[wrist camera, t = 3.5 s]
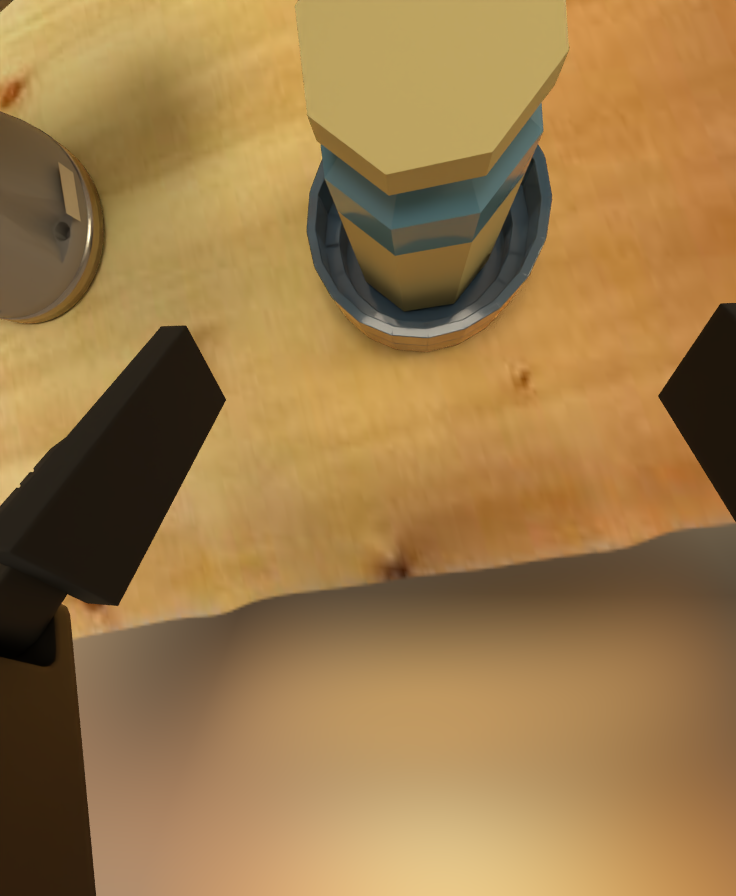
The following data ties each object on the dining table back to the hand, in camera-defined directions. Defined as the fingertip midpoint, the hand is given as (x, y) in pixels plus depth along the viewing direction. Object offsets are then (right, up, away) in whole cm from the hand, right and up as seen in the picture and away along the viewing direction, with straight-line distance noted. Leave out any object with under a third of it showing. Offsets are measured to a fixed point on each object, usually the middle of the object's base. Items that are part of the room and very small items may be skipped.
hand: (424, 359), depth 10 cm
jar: (+2, +12, +16) cm, 20 cm away
